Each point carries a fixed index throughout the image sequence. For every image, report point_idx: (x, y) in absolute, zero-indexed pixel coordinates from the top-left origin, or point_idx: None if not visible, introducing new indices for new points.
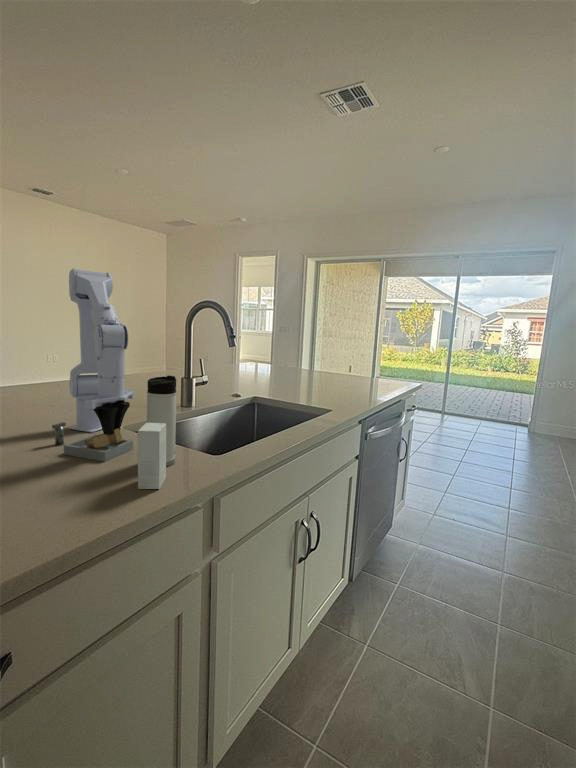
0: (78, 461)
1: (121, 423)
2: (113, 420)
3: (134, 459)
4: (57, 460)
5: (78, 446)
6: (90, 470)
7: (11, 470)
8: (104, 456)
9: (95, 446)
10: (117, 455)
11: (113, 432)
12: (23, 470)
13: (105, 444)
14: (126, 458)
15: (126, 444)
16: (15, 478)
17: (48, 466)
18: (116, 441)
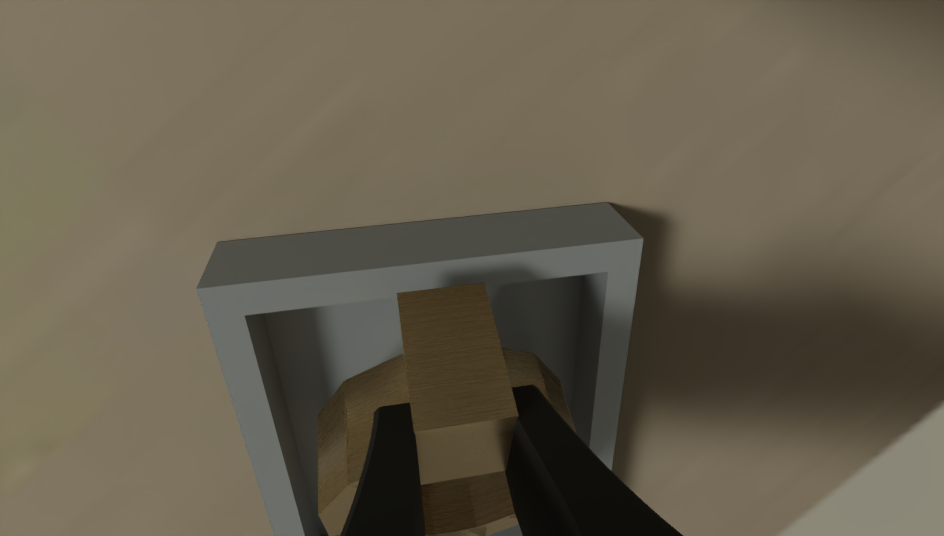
0: (656, 346)
1: (371, 482)
2: (605, 522)
3: (450, 16)
4: (676, 437)
5: None
6: (790, 157)
7: (846, 467)
8: (625, 226)
9: (561, 390)
10: (455, 219)
11: (510, 395)
12: (840, 435)
13: (516, 356)
14: (463, 108)
15: (323, 267)
16: (940, 380)
17: (770, 399)
18: (487, 296)
